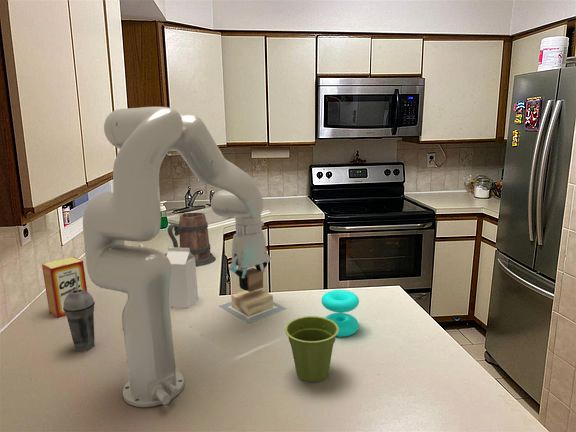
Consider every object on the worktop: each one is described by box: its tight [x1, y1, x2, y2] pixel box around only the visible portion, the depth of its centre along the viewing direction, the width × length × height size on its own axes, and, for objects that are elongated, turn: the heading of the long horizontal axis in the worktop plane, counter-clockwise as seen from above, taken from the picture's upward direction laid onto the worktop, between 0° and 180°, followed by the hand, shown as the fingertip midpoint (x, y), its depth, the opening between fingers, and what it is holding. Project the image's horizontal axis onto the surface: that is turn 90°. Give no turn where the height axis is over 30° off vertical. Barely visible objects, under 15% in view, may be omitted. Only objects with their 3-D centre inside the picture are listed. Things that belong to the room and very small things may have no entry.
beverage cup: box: [63, 272, 95, 352], centre depth 107 cm, size 7×7×20 cm
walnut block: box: [245, 267, 264, 292], centre depth 127 cm, size 5×5×5 cm
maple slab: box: [230, 288, 274, 316], centre depth 128 cm, size 9×9×4 cm
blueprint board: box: [219, 301, 287, 324], centre depth 129 cm, size 16×14×1 cm
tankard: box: [164, 212, 217, 267], centre depth 174 cm, size 24×17×20 cm
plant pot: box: [284, 315, 339, 383], centre depth 94 cm, size 12×12×11 cm
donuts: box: [321, 289, 360, 338], centre depth 114 cm, size 10×10×10 cm
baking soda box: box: [41, 256, 88, 319], centre depth 131 cm, size 10×6×16 cm
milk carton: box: [166, 246, 199, 309], centre depth 132 cm, size 7×7×19 cm
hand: (251, 286), depth 127 cm, fingers closed on walnut block, 5 cm apart
